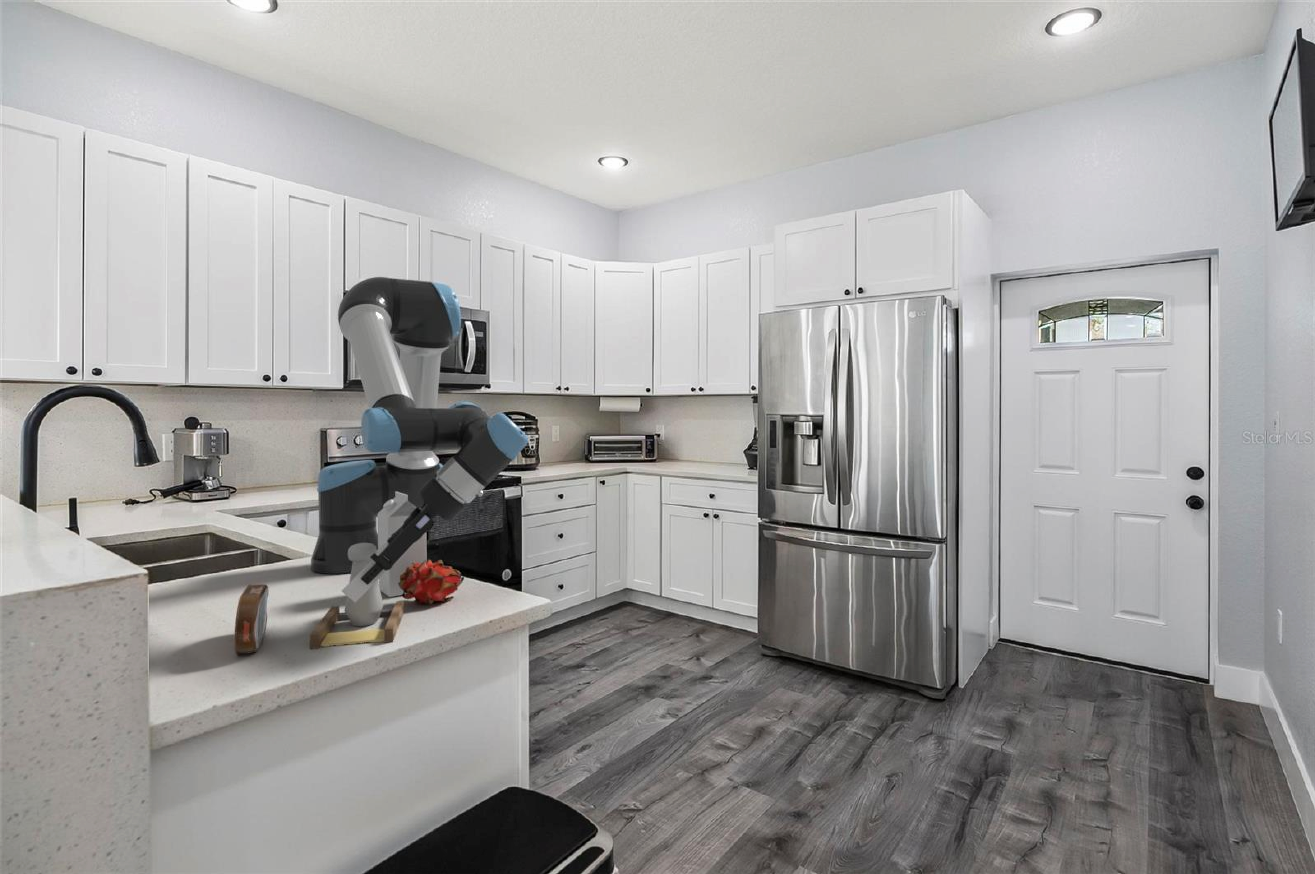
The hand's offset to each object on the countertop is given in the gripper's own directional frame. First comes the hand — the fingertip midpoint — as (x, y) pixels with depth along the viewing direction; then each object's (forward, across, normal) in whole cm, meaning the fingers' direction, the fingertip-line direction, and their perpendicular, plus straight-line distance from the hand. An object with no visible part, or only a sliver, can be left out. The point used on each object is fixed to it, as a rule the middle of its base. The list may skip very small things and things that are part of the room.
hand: (356, 585), depth 110 cm
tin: (+14, -6, +5) cm, 16 cm away
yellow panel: (+4, -8, -5) cm, 10 cm away
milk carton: (+1, +19, -8) cm, 21 cm away
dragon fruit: (-3, +10, -12) cm, 17 cm away
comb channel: (+4, -3, -5) cm, 7 cm away
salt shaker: (+4, 0, -5) cm, 7 cm away
